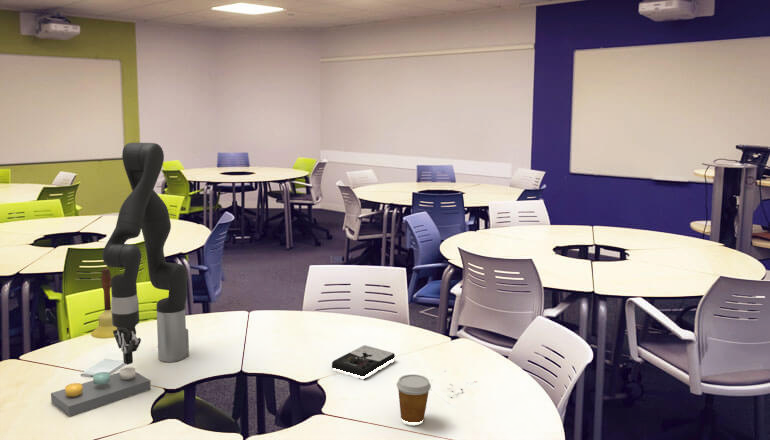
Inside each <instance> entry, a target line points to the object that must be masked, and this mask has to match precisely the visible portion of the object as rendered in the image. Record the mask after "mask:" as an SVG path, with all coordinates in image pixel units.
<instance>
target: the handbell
mask: <svg viewBox="0 0 770 440" xmlns="http://www.w3.org/2000/svg"><path fill="white" fill-rule="evenodd" d="M111 279H112V276H111V271H110V268H109V267H105V268H102V271H101V277H100V281H101V287H102V290H103V301H104V303H103V304H104V310H103V312H102V313H101V314H100V315H99V316H98V325H97V327H96V328H95V329H94V330H93V331H92V332H91V334H90V335H91V337H92V338H94V339H113V338H114V339H115V336H114V334H113V331H114V330H117V327H115V326H113V324H112V309H111Z"/></svg>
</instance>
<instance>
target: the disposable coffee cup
mask: <svg viewBox="0 0 770 440" xmlns="http://www.w3.org/2000/svg"><path fill="white" fill-rule="evenodd" d="M429 381H430V380H429V379H428V378H427V376H423V375H420V374H405V375H402V376H401V377H399V378H398V380H397V382H396V388H397V389H398V390H397V391H398V400H399V401H398V402H399V411H400V419H401V418H402V419H403V420H405V421H408V422H420V421H422V420H423V419H424V420H425V415H426V409H427V404H428V403H427V402H428V397H429V392H430V390H431V387H432V386H431V385H432V384H431V382H429Z"/></svg>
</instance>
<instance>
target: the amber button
mask: <svg viewBox="0 0 770 440" xmlns="http://www.w3.org/2000/svg"><path fill="white" fill-rule="evenodd" d="M82 384H83V383H81V382H73V383H69V384H67V385H66V386H65V387H64V389H65V394H66V396H77V395H80V394H81V393H82V392H83V389H82Z"/></svg>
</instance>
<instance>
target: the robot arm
mask: <svg viewBox="0 0 770 440" xmlns="http://www.w3.org/2000/svg"><path fill="white" fill-rule="evenodd" d="M164 160H165V155H164V151H163V147H161V145H160V144H158V143H157V142H156V143H154V142H128V143H126V144H124V147H123V148H122V162H123V167H124V171H125V173H126V176H127V178H128V182H129V185H130V188H131V193H130V194H129V195H127V197H126V199H125V200H124V201H123V202H122V204H121V206H120V208H119V212H118V216H117V220H116V224H115V227H114V230H113V231H112V233H111V235H110V236H109V239H108V241H107V242H106V244H105V246H104V248H103V250H102V260H103V263H104V264H105V265H106V266H108V268H109V267H110V268H123V269H124V272H123V273H119V274H115V275H114V276H111V288H110V294H111V298H110V302H111V311H112V324H113V326H115V327H117V330H114V331H113V334H114V336H115V337H114V339H115V342H116V343H117V347H118V349H121V352H122V358H123V360H122V361H124V363H125V364H126V366H127V365H131V364H133V362H134V359H133V358H134V357H133V353H134V352H136V351H138V348H139V347H140V344H141V342H142V339H141V337H137V331H136V326H137V325H138V324H139V323H140V310H139V305H140V304H139V298H138V288H137V280H138V274H139V269H140V265H141V261H142V252H141V250H140V248H139V247H138V245H135V244H132V243H131V244H130V243H126V242H127V241H128V240H130V239H136V238H138V237H139V236H140V235H141V233H142V236H143V237H142V238H143V242H144V246H145V251H146V259H147V267H148V268H147V269H148V276H149V281H150V283H151V286H153V288H155V289H158V290H163V291H168V296H167V297H164V298H162V299H159V300H158V301H157V302H156V324H157V325H156V327H157V329H156V330H157V355H158V356H157V357H158V360H159V361H161V362H165V363H171V362H173V363H174V362H178V361H183V360H184V359H185V358H187V357H189V355H190V354H189V353H190V349H189V348H190V344H189V343H190V341H189V329H188V328H187V324H186V319H187V318H186V301H187V297H188V271H187V269H186V267H185V265H184V264H181V263H175V262H167V261H166V257H165V253H164V247H165V245H166V242H167V239H168V237H169V234H170V233H171V229H172V228H171V227H172V222H171V218H170V212H169V209H168V207H167V204H166V203H165V202H164V200H163V199H162V198H161V196H159V194H158V193H157V192H156V191H155V190H154V189H155V187H156V184H157V182H158V179H159V176H160V174H161V171H162V168H163V165H164Z"/></svg>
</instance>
